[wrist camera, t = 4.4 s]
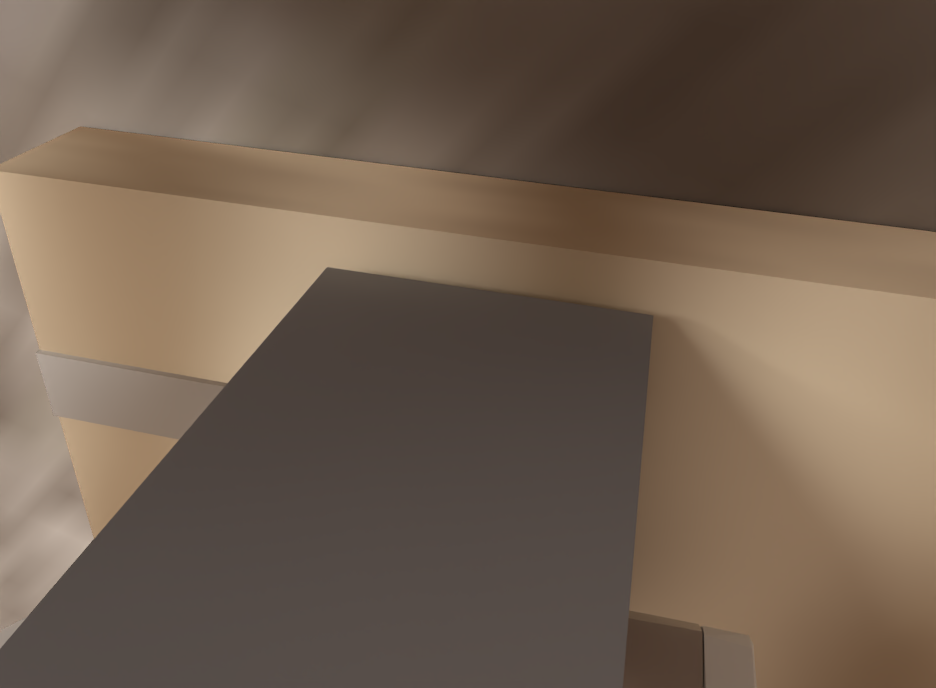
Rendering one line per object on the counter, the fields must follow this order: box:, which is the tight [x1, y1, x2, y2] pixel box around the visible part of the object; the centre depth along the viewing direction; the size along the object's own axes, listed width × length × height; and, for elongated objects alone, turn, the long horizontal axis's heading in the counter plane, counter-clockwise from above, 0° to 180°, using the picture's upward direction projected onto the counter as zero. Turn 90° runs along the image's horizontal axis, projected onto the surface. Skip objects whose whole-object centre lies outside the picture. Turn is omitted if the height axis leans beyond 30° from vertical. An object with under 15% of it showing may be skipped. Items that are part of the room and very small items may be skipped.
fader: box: [0, 267, 653, 688], centre depth 9 cm, size 4×6×6 cm, turn 177°
